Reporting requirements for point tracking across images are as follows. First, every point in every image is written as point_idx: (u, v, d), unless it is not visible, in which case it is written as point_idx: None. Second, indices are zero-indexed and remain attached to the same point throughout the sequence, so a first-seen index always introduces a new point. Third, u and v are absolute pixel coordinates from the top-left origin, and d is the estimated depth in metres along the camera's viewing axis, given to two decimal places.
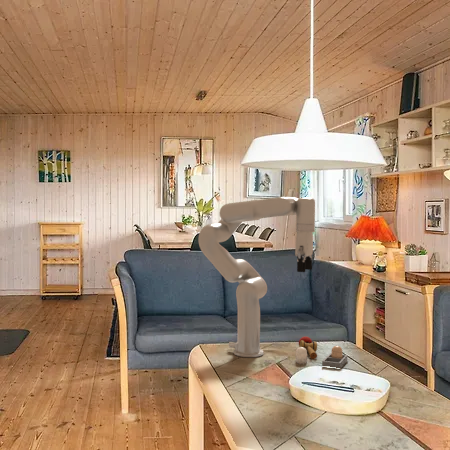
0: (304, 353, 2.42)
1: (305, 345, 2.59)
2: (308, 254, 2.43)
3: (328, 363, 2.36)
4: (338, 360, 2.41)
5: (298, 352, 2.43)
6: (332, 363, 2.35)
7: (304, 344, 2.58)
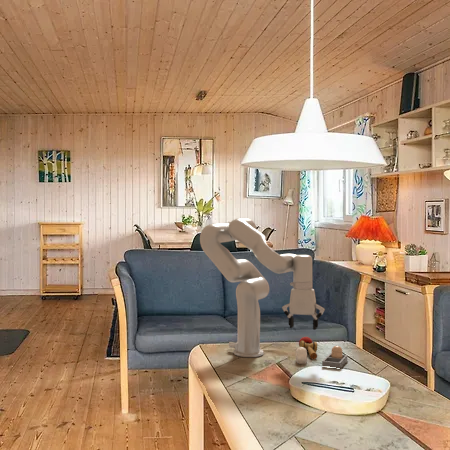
0: (304, 353, 2.42)
1: (305, 345, 2.58)
2: None
3: (328, 363, 2.36)
4: (338, 360, 2.41)
5: (298, 352, 2.43)
6: (332, 363, 2.35)
7: (304, 344, 2.58)
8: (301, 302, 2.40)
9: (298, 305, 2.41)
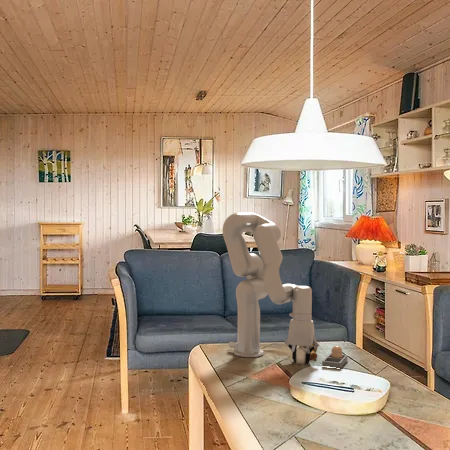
0: (304, 353, 2.42)
1: (305, 346, 2.58)
2: None
3: (328, 363, 2.36)
4: (338, 360, 2.41)
5: (298, 352, 2.43)
6: (332, 363, 2.35)
7: None
8: (300, 333, 2.41)
9: (297, 336, 2.42)
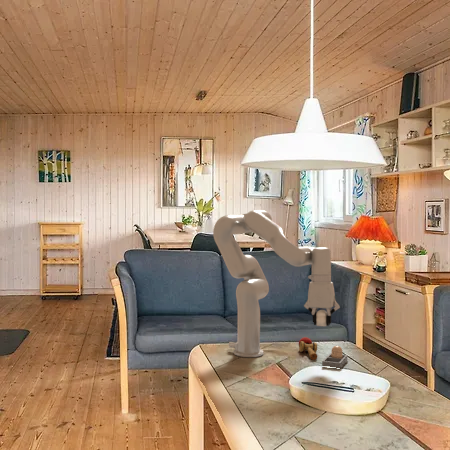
0: (325, 315, 2.38)
1: (305, 346, 2.57)
2: None
3: (328, 363, 2.36)
4: (338, 360, 2.41)
5: (318, 314, 2.38)
6: (332, 363, 2.35)
7: (304, 345, 2.57)
8: (320, 295, 2.37)
9: (317, 298, 2.38)
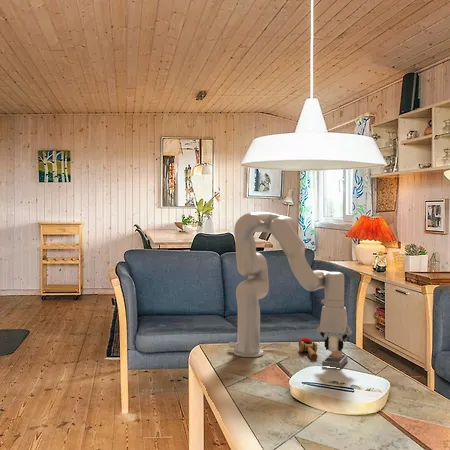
0: (337, 340, 2.37)
1: (305, 346, 2.57)
2: None
3: (328, 363, 2.36)
4: (338, 360, 2.41)
5: (331, 339, 2.37)
6: (332, 363, 2.35)
7: (304, 345, 2.57)
8: (332, 320, 2.36)
9: (329, 323, 2.36)
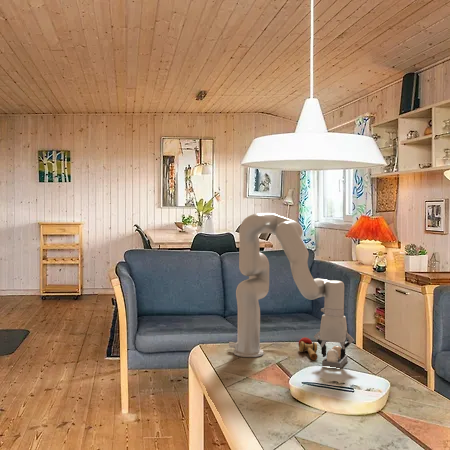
0: (335, 355, 2.37)
1: (305, 346, 2.57)
2: None
3: (328, 363, 2.36)
4: (338, 360, 2.41)
5: (329, 354, 2.37)
6: (332, 363, 2.35)
7: (304, 345, 2.56)
8: (332, 329, 2.36)
9: (329, 332, 2.36)
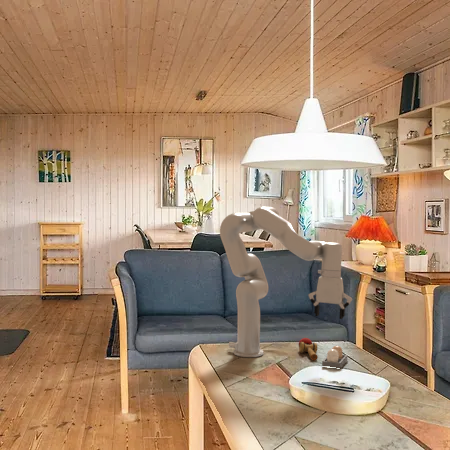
0: (336, 355, 2.37)
1: (305, 346, 2.56)
2: None
3: (328, 363, 2.36)
4: (338, 360, 2.41)
5: (330, 354, 2.37)
6: (332, 363, 2.35)
7: (304, 345, 2.56)
8: (329, 290, 2.36)
9: (325, 293, 2.37)
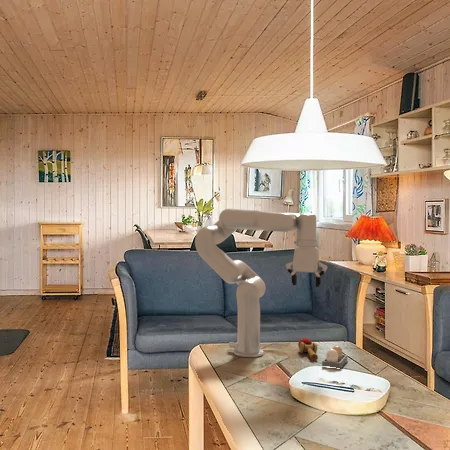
0: (335, 355, 2.37)
1: (305, 347, 2.56)
2: None
3: (328, 363, 2.36)
4: (338, 360, 2.41)
5: (329, 354, 2.37)
6: (332, 363, 2.35)
7: (304, 346, 2.56)
8: (304, 260, 2.45)
9: (301, 263, 2.45)
